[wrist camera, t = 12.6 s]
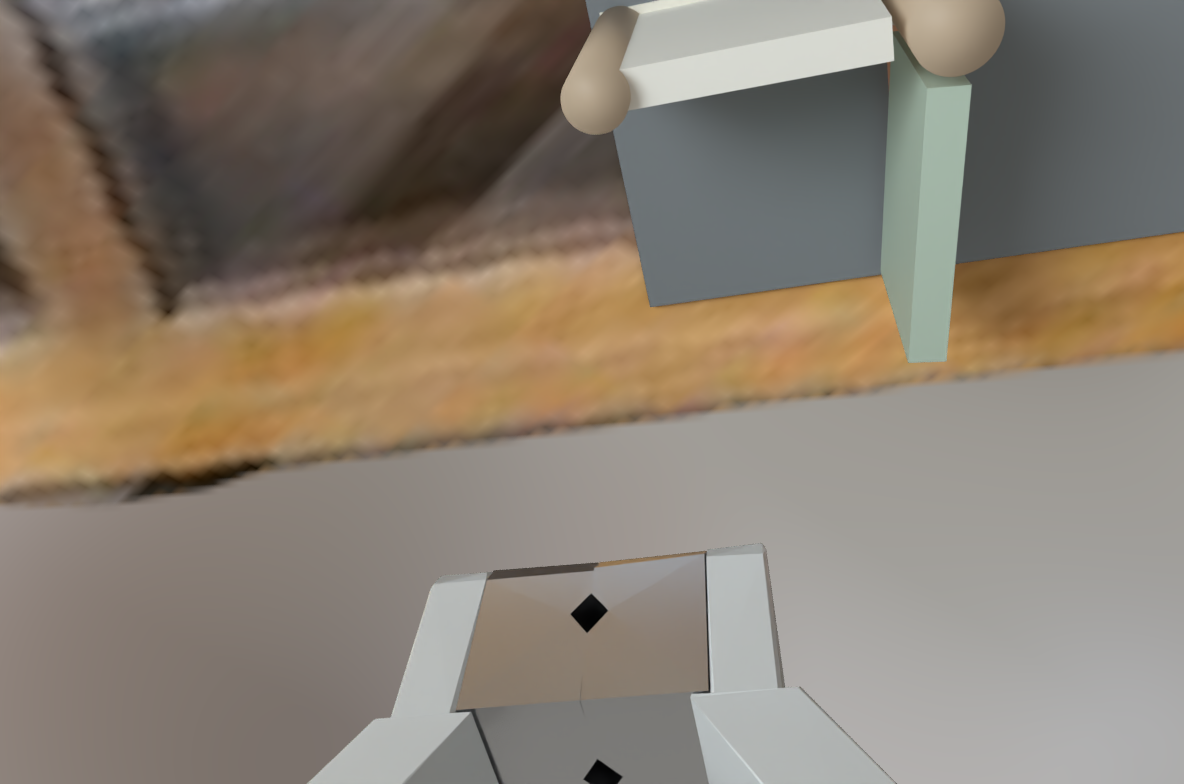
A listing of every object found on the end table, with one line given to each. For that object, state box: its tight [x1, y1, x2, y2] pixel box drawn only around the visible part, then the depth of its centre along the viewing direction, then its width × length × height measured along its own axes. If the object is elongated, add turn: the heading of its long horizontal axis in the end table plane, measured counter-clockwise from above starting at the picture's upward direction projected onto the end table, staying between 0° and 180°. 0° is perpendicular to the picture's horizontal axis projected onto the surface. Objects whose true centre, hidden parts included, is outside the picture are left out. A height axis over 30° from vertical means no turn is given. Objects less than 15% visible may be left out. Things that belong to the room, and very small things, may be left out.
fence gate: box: [881, 31, 972, 363], centre depth 32 cm, size 9×1×7 cm, turn 7°
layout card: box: [586, 0, 1184, 307], centre depth 35 cm, size 22×15×1 cm
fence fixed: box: [561, 0, 1005, 135], centre depth 30 cm, size 12×2×8 cm, turn 103°
